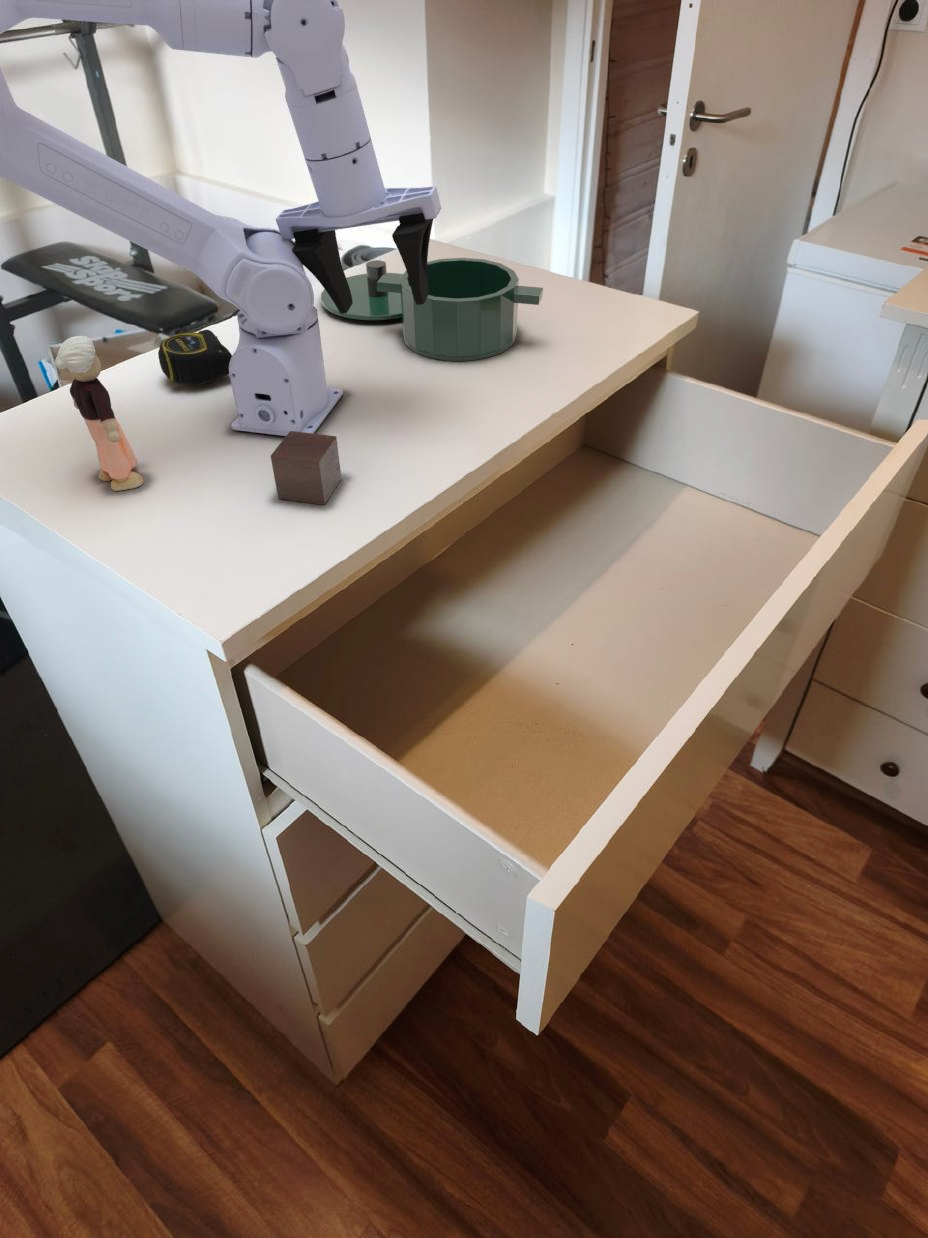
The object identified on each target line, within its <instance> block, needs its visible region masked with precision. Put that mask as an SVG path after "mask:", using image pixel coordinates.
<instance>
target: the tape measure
mask: <svg viewBox="0 0 928 1238" xmlns="http://www.w3.org/2000/svg"><path fill="white" fill-rule="evenodd" d="M157 355H158V360H159V361H158V362H159V365H160V369H161V371H162V372H163V374H164V375H165V377H166V378H168V379H169V380H171V381H172V382H174V383H177V384H181V385H190V386H191V385H203V384H207V383H209V382H212V381H215V380H217V379H220V378H223V377H226V376H229V363H230V360H231V357H232V356H233V354H232V353H231V352H230V350H229V349H228V348H227V347H226V346H224V345H223V344H222V343H221V341H220V340H219V339H218V336H217V335H215V333H214V332H213V331H212V330H210V329H203V330H200V331H198V332H181V333H177V334H174V335H171V336H169V337H167V338H165V339H164V340H163V341H162V342H161V343H160V344H159V348H158V352H157Z"/></svg>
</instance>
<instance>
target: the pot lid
mask: <svg viewBox="0 0 928 1238" xmlns="http://www.w3.org/2000/svg"><path fill="white" fill-rule="evenodd" d="M365 271H366V273H362V274H356V275H352V276H351V275H350V276H346V279H347V282H348V285H349V288H350V291H351V295H352V300H353V304H352V305H351V307H350V308H349V310H348V312H347V313H343V314H341V313H340V312H339V310H338V309H337V307H336V305H335V304H334V302H333V300H332V299H331V297H330V296H329V294H328V293H327V291H326V290H325V289H324V288H323V290H322V291H321V294H320V302H321V305H322V306H323V307H324V309H325V310H327V312H330V313H332V314H334V315H337V316H339V317H342V318H347V319H352V320H360V321H386V320H394V319H400V318H401V319H402V308H401V293H393V292H382V291H377V282H378V280H379V279H380V278H381V277H382V276H383V275H393V276H402V275H403V274H404V273H397V272H388V270H387V262H386V261H384V260H380V259H379V260H378V259H375V260H370V261H367V262H366V263H365Z"/></svg>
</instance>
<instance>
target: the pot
mask: <svg viewBox="0 0 928 1238" xmlns="http://www.w3.org/2000/svg"><path fill="white" fill-rule="evenodd" d="M402 274H403V275H402V276H393V275H383V276H382V277H381V278H380V279H379V280H378V282H377V291H382V292H393V293H401V308H402V317H401V324H402V334H403V341H404V343H405V345H406V346H407V347H408V348H409V350H411V351H413V352H415V354H418V355H420V356H423V357H427V358H430V359H433V360H440V361H449V362H467V361H468V362H469V361H477V360H483V359H487V358H491V357H495V356H497V355H499V354H500V355H501V354H502V353H504V352H506V351H507V350H508V349H510V348H511V347H512V346H513V345H514V343H515V342H516V337H517V336H516V335H517V333H518V313H519V312H518V311H519V310H518V309H519V308H518V307H519V304H521V305H534V306H535V305H536V306H539V305H540V303H541V301H542V299H543V296H544V295H543V294H544V287H539V286H529V285H528V286H527V285H519V281H520V279H519V276H518V275H517V273H516V272H515V270H514V269H512V268H510V267H508V266H507V265H505V264H503V263H500V262H498V261H497V262H495V261H493V260H488V259H484V258H471V257H453V258H438V259H433V260H430V261H427V282H428V293H429V295H428V297H427V299H426V301H425V303H424V304H422V305H416V303H415V300H414V297H413V294H412V290H411V286H410V282H409V277H408V274H407V270H406V269H405V271H404V272H403V273H402Z"/></svg>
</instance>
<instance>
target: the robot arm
mask: <svg viewBox="0 0 928 1238" xmlns="http://www.w3.org/2000/svg"><path fill="white" fill-rule="evenodd" d="M344 13H345V12H344V9H343V8H342V7H340V6H339V4H338V1H337V0H0V35H1V34H3V33H4V32H7V31H8V30H11V29H12V28H13V27H15V26H17V25H19V24H21V23H23V22H24V21H26V20H28V19H34V18H35V19H49V20H62V21H76V22H77V21H78V22H91V23H105V24H118V25H119V24H120V25H133V26H134V25H135V26H146V27H147V26H148V27H150V28H151V29H152V30H154V31H155V32H156V34H157V35H158V36H159V37H160V38H161V40H162V41H163V42H164V43H165V44H166V45H167V46H168V47H169V48H170V49H171V50H173V51H174V50H177V51H185V52H194V53H195V52H196V53H205V54H213V55H214V54H215V55H225V56H235V57H244V58H252V59H253V58H254V59H257V58H260V57H261V56H263V55H264V54H266V53H270V52H272V53H273V55H274V56H275V60H276V63H277V66H278V69H279V73H280V76H281V78H282V79H281V80H282V82H283V85H284V88H285V93H284V99H285V102H286V105H287V107H288V111H289V114H290V117H291V120H292V123H293V126H294V129H295V132H296V135H297V136H296V137H297V139H298V143H299V145H300V148H301V152H302V155H303V157H304V161H305V164H306V168H307V171H308V173H309V177H310V178H311V181H312V182H311V184H312V185H313V188H314V192H315V196H316V198H317V201H315V202H312V203H308V204H304V205H300V206H296V207H292V208H286V209H283V210H282V211H281V212H280V213H279V214H278V215H277V216H276V218H275V219H274V220H275V222H276V226H277V229H276V228H272V227H258V226H252V225H249V224H247V223H244V222H243V221H241V220H239V219H237V218H235V217H229V216H223V215H220V214H219V215H218V214H214V213H213V212H211V211H209V210H207V209H206V208H204V207H202V206H200V205H198V204H196V203H194V202H192V201H191V200H188V198H185V197H184V196H181V195H180V194H178V193H176V192H174V191H172V190H170V189H168V188H167V187H165V186H163V185H162V184H159V183H158V182H156V181H155V180H153V179H150V178H148V177H146V176H145V175H143V174H141V173H140V172H137V171H136V170H134V169H132V168H131V167H128V166H127V165H125V164H123V163H121V162H120V161H117V160H116V159H114V158H112V157H110V156H108V155H106V154H104V153H102V152H101V151H99V150H97V149H95V148H94V147H92V146H90V145H88V144H86V143H85V142H82V141H81V140H79V139H77V138H75V137H73V136H72V135H69V134H68V133H66V132H65V131H63V130H60V129H59V128H57V127H55V126H53V125H51V124H49V123H48V122H46V121H44V120H43V119H41V118H39V117H37V116H35V115H33V114H32V113H30V112H28V111H26V110H24V109H23V108H21V107H19V106H18V105H17V104H16V102H15V99H14V96H13V95H12V92H11V89H10V87H9V86H8V83H7V80H6V79H5V76H4V73H3V71H2V69H1V68H0V177H1V178H3V179H6V180H7V181H10V182H12V183H13V184H16V185H18V186H20V187H21V188H23V189H25V190H28V191H29V192H31V193H33V194H35V195H38V196H39V197H41V198H44V199H45V200H47V201H49V202H51V203H53V204H55V205H58V206H59V207H61V208H64V209H65V210H67V211H69V212H71V213H74V214H75V215H77V216H79V217H81V218H83V219H85V220H87V221H89V222H92V223H93V224H95V225H97V226H99V227H100V228H103V229H105V230H107V231H108V232H109V231H110V233H113V234H115V235H117V236H119V237H121V238H123V239H125V240H127V241H129V242H131V243H133V244H135V245H137V246H140V247H141V248H143V249H145V250H147V251H149V252H151V253H153V254H155V255H157V256H159V257H161V258H163V259H165V260H167V261H169V262H171V263H173V264H175V265H177V266H179V267H181V268H183V269H184V270H187V271H189V272H191V273H193V274H195V275H196V276H197V277H198V278H200V280H201V281H202V282H203V283H204V284H205V285H206V286H208V288H210V290H211V291H212V293H214V294H215V295H216V296H217V297H218V298H220V299H221V300H223V301H225V302H228V303H230V304H231V305H233V306H234V307H236V308H237V309H238V310H239V311H238V312H237V314H236V315H237V317H236V318H237V324H238V332H239V338H238V344H237V347H236V348H235V351H234V352H233V354H232V357H231V360H230V363H229V374H228V376H229V380H230V384H231V385H230V386H231V389H232V394H233V399H234V404H235V408H236V414H237V417H236V418H235V419H234V420H233V422H232V423H231V425H230V426H231V429H232V430H234V431H240V432H249V433H257V434H264V435H266V434H267V435H274V436H282V437H286V435H287V434H288V433H289V432H290V431H296V432H305V433H313V434H315V432H316V431H317V429H318V428H319V427H320V426H321V424H322V423H323V422H324V420H325V419H326V417H327V416H328V414H329V413H330V412H331V411H332V410H333V408H334V407H335V405H336V404H337V403H338V402H339V400H340V399H341V397H342V396H343V394H344V391H343V389H342V388H339V387H329V386H327V378H326V368H325V360H324V353H323V345H322V338H321V329H320V322H319V314H318V309H317V308H316V306H314V305H315V293H314V288H313V285H312V283H311V281H310V279H309V277H308V275H307V273H306V271H305V268H306V269H307V270H308V271H309V272H310V273H311V274H312V276H313V277H314V278H315V279H316V280H317V282H319V283H320V285H321V286H322V288H323V290H324V289H325V290H326V291H327V293H328V294H329V296H330V297H331V299H332V300H333V302H334V304H335V305H336V307H337V309H338V310H339V312H340V313H341V314H343V313H347V312H348V310H349V308H350V307H351V305H352V304H353V300H352V295H351V291H350V288H349V285H348V282H347V279H346V278H347V276H346V273H345V270H344V268H343V264H342V260H341V255H340V250H339V246H338V239H337V234H336V231H338V230H345V229H350V228H351V229H352V228H358V227H364V226H371V225H372V226H373V225H377V224H384V223H392V222H398V223H399V224H398V225H397V226H396V228H395V229H394V231H393V233H392V234H391V237H392V241H393V242H394V245H395V246H396V248H397V250H398V253H399V255H400V257H401V259H402V262H403V265H404V268H405V271H406V270H407V274H408V277H409V282H410V286H411V290H412V294H413V297H414V300H415V303H416V305H422V304H424V303H425V301H426V299H427V297H428V295H429V293H428V282H427V262H428V257H429V248H430V247H429V246H430V240H431V234H432V228H433V223H434V219H437V217H438V215H439V214H440V212H441V210H442V205H441V201H440V196H439V192H438V188H437V185H432V186H423V187H422V186H421V187H385V185H384V180H383V178H382V173H381V169H380V167H379V163H378V159H377V155H376V151H375V148H374V144H373V140H372V137H371V132H370V129H369V125H368V121H367V118H366V115H365V114H366V113H365V111H364V107H363V104H362V100H361V99H362V98H361V96H360V92H359V89H358V84H357V81H356V77H355V75H354V74H353V73H352V72H351V69H350V60H349V55H348V51H347V49H346V48H345V46H344V43H343V41H344V38H345V37H344V36H345V28H346V23H345V22H346V20H345V14H344Z"/></svg>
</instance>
